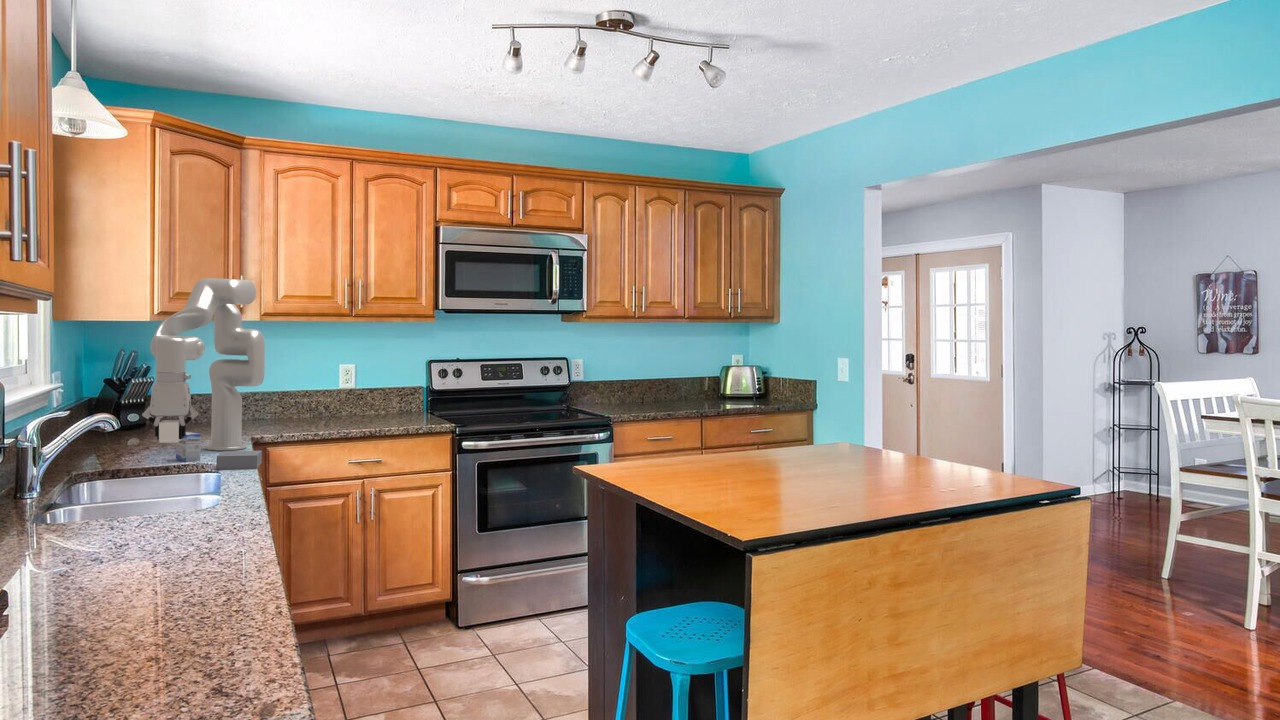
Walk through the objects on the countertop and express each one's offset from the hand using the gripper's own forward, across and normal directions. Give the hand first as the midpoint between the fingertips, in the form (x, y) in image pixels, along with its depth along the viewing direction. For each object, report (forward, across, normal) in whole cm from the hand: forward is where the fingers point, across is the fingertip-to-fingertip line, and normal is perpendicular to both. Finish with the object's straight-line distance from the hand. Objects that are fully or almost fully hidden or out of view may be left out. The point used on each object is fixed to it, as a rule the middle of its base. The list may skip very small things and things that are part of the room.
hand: (170, 438), depth 236 cm
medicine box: (+10, -2, -15) cm, 18 cm away
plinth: (+9, -19, +1) cm, 21 cm away
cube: (+1, 0, 0) cm, 1 cm away
